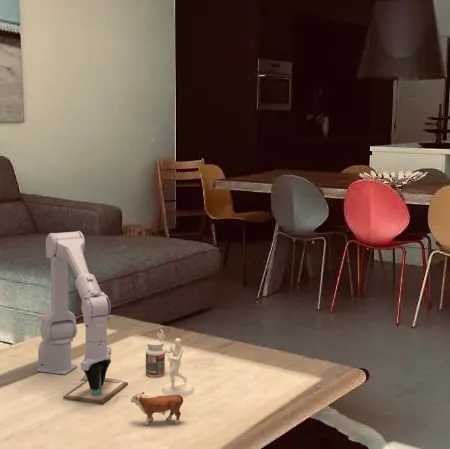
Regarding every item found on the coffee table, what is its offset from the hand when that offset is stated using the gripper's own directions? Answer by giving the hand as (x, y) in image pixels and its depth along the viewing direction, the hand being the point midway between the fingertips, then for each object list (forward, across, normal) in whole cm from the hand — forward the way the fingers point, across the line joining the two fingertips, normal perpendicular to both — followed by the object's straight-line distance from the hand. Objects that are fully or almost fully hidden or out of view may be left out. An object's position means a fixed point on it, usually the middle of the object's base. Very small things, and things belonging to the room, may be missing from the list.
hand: (96, 387), depth 208 cm
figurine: (+3, +13, -19) cm, 23 cm away
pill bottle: (+3, +23, -8) cm, 24 cm away
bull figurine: (+3, -10, -22) cm, 24 cm away
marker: (+2, 0, 0) cm, 2 cm away
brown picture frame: (+3, +4, +2) cm, 5 cm away
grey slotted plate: (+3, +14, +9) cm, 17 cm away
